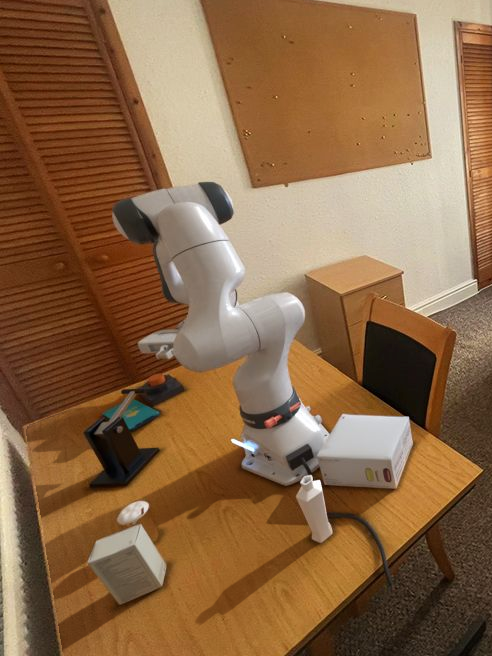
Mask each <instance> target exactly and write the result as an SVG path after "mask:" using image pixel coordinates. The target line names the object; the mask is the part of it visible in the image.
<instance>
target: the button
mask: <svg viewBox="0 0 492 656" xmlns="http://www.w3.org/2000/svg"><path fill="white" fill-rule="evenodd" d="M164 375H165V374H164V373H160V372H159V373H154V374H153V375H151V376H149V377H148V378H147V382H149V384H150V386H157V385H160V384H162V383H164V382H165V381H166V380H165V377H164Z"/></svg>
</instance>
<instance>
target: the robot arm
mask: <svg viewBox="0 0 492 656" xmlns="http://www.w3.org/2000/svg"><path fill="white" fill-rule="evenodd" d="M111 211H112V217H111V218H112V222H113V225H114V227H115V229H116V230H117V231H118V233H120V235H122V236H123V237H124V238H126V239H127V240H129V241H130V243H134V244H137V245H150V244H152V255H153V259H154V263H155V266H156V268H157V272H158V274H159V278H160V281H161V292H162V295H163V297H164V298H165V299H166V301H167V302H169V303H171V304H180V305H188V311H187V315H186V318H185V319H182V321H180V322H179V323H178V324H177V328H175V329H172V328H171V329H160V330H157V331H155V332H152V333H151V334H149V335H147V336H145V337H144V338H142V339H141V340H139V341H138V342H137V346H138V349H139V350H140V353H141V354H145V355H146V354H147V355H148V354H155V358H156V360H170V359H172V358H173V357H175V359H176V360H177V362H178V363H179V364H180V365H181V366H182V367H183V368H185V369H187V370H188V371H191V372H194V373H197V374H202V373H205V372H209V371H213V370H217V369H219V368H223V367H226V366H229V365H231V364H233V363H235V362H238V361H239V360H242V359H243V358H245V357H246V358H245V359H244V361H243V362H242V363H241V364H240V365H239V366H238V368H237V369H236V371H235V372H234V376H233V379H232V387H233V389H234V392H235V396H236V398H237V401H238V404H239V409H238V410H239V415H240V418H241V420H242V422H243V424H244V425H243V428H242V431H241V434H240V438H241V441H238V440H237V439H234V438H232V439H231V442H232V443H233V444H235V445H237V446H240V447H242V448H243V450H244V455H245V457H244V458H243V459H242V461H241V469H243V470H245V471H248V472H250V473H253V474H255V475H258V476H260V477H262V478H265V479H266V480H267V479H268V480H270V481H272V482H274V483H277V484H279V485H283V486H285V487H287V486H290V485H293V484H296V483H298V482H301V480H302V479H303V477H304V476H308V475H312V478H313V481H316V480H315V477H314V475H313V473H314V472H315V471H317V470H318V469H320V466H319V463H318V459H317V454H318V453H319V451H320V449H321V448H322V446H323V445H324V443H325V441H326V440H327V438H328V437H329V435H330V432H328V431H327V429H326V428H325V427H324V426H323V425H322V424H323V419H322V416H321V415H320V414H316V415H312V414H311V413H310V411H312V410H311V409H312V408H311V407H310V405H306V406H305V405H304V404H303V401H302V400H301V398H300V397H299V394H298V392H297V391H296V389H295V387H294V386H293V385H292V382H291V377H290V372H289V366H288V359H289V353H290V349H291V346H292V344H293V341H294V339H295V336H297V333H298V332H299V330H300V329H301V328H302V327H303V325H304V323H305V320H306V311H305V306H304V305H303V303H302V302H301V300H300V299H299V298H298V297H297V296H296V295H294V294H292V293H290V292H288V291H283V292H276V293H271V294H265V295H263V296H259V297H257V298H254V299H252V300H249V301H246V302H244V303H242V304H240V303H239V301H238V291H237V288H238V287H239V286H240V285H241V284H242V283H243V281H244V279H245V277H246V268H245V266H244V264H243V263H242V261H241V259H240V257H239V254H238V253H237V252H236V250H235V248H234V246H233V245H232V242H231V240H230V239H229V237H228V235H227V233H226V232H225V231H224V229H223V228H222V226H221V225H223V224H225V223H227V222H229V221H231V220H232V218H233V217H234V213H235V211H234V202H233V199H232V197H231V196H230V194H229V192H228V191H226V189H224V188H223V187H222V186H221V184H219V183H216V182H214V181H199V182H198V183H194V184H185V185H179V186H173V187H169V188H165V187H163V188H160V189H155V190H152V191H148V192H145V193H142V194H140V195H137V196H134V197H130V196H129V197H126V198H123V199H121V200H118V201H117V202H115V203H114V204H113V206H112V208H111ZM326 513H327V518H350V519H353V520H355V521H357V522H359V523H360V524H361V525H362V526H364V527H365V528H366V529H367V530H368V532H369V533H370V535H371V537H372V538H373V539H374V541H375V543H376V545H377V547H378V549H379V552H380V557H381V563H382V567H383V572H384V574H385V578H386V581H387V585H388V587H393V586H394V582H393V580H392V576H391V572H390V570H389V566H388V560H387V556H386V552H385V549H384V546H383V544H382V543H383V542H381V540H380V537H379V536H378V534H377V532H376V530H375V529H374V528H373V526H372V525H371V524H370V523H369V522H367V520H365V519H364V518H362V517H361V516H359V515H357V514H354V513H351V512H350V513H349V512H335V513H334V512H332V513H331V512H326Z"/></svg>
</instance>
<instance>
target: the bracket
mask: <svg viewBox="0 0 492 656" xmlns="http://www.w3.org/2000/svg"><path fill="white" fill-rule="evenodd" d="M102 422H108V421H107V418H106V417H99V418H98V419H97V420H95V421H94V422H92V424H91V425H90V426H88V427H87V428H86V429H85V430H83V431H82V433H83V435H84V437H85V439H86V440H87V442H88V444H89V445H90V448H91V449H92V451H93V452H94V454H95V456H96V458H97V460H98V462H99V463H100V465H101V467H102V469H103V470H101V471H100V473H99V474H98V475H97V476H95V477H94V478H93V479H92V480H91V481H90V482H89V483H88V486H89V488H90V489H94V488H95V489H96V488H97V489H98V488H114V487H115V488H116V487H128V486H129V485H130V484H131V483H132V482H133V481H134V480H135V478H137V476H139V474H140V473H141V472H142V471H143V470H144V469H145V468H146V467H147V465H149V463H150V462H152V460H153V459H154V458H155V457H156V456H157V455H158V454H159V453H160V452H161V450H160V448H159V447H140V448H139V446H138V444H137V442H136V439H135V437H134V436H133V434H132V431H130V430H129V428H128V426H127V424H126V422H125V420H124V418H123V417H118V418H117V419H115V420H114V421H113V422H112V423H111V424H110V425H108V426H107V427H106V428H105V429H104V430H103V431H102V433H103V434H104V436H105V438H106V439H100V438H99V437H97V436H96V435H94V433H95V431H96V430H97V429H98V427H99V426H100V425H101V423H102Z"/></svg>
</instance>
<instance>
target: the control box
mask: <svg viewBox="0 0 492 656" xmlns="http://www.w3.org/2000/svg"><path fill="white" fill-rule="evenodd" d="M163 375H164V377H165V380H166V381H165V382H164V383H162V384H160V385H157V386H150V384H149V382H148V381H146V382H145V383H144V384H143V385H141V386H139V387H137V388H136V389H140V388H148V392H147V393H141V394H139V396H141V398H142V399H144V400H145V401H146V402H147V403H148V404H149V405H151V406H152V407H155V406H157V405H159V404H161V403H162V402H165V401H168V400H170V399H171V398H173V397H175V396H177V395H179V394H181V393H183V392H185V391H186V389H185V387H184V385H183V383H181V382H179V380H177V379H175V378H174V377H173V376H171V375H170V374H169V373H167V374H163Z"/></svg>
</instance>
